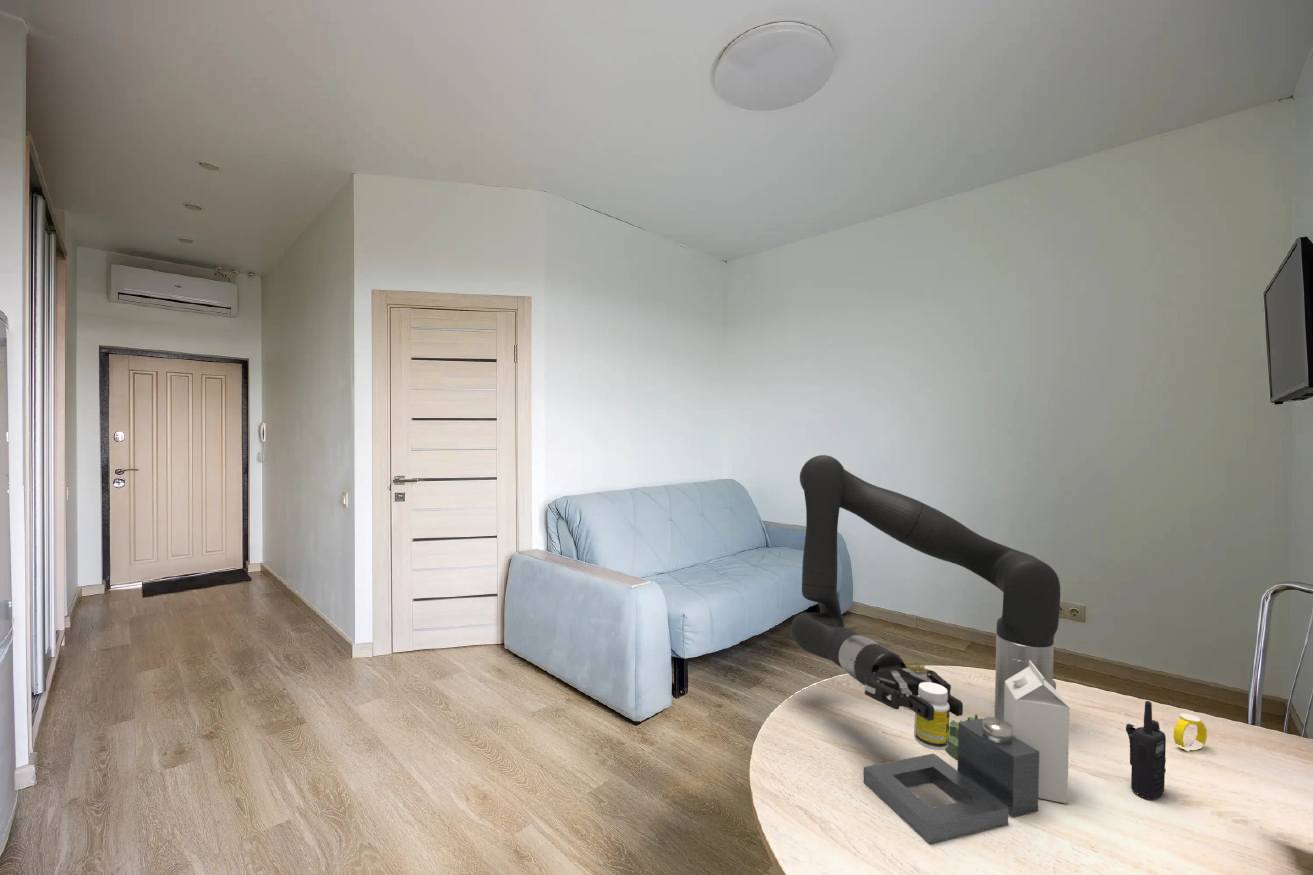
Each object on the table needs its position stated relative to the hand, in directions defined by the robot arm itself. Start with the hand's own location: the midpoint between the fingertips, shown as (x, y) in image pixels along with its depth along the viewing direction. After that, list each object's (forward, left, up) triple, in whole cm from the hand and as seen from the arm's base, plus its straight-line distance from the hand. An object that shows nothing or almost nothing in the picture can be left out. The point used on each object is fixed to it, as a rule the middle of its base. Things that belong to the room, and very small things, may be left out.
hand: (946, 711), depth 82 cm
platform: (-24, -33, -16) cm, 44 cm away
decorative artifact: (-18, -11, -16) cm, 26 cm away
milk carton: (-19, -1, -15) cm, 25 cm away
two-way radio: (-35, +4, -15) cm, 39 cm away
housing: (-4, -3, -15) cm, 16 cm away
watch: (-57, -2, -15) cm, 59 cm away
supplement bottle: (0, -3, -6) cm, 7 cm away
